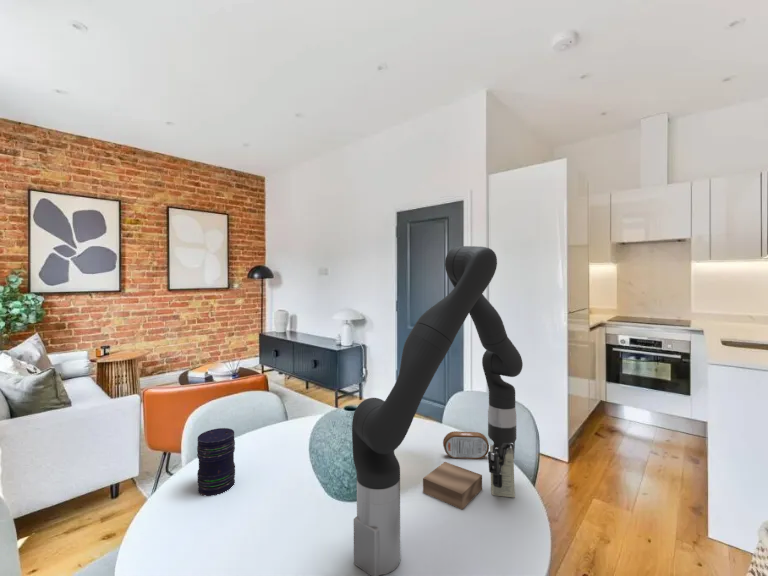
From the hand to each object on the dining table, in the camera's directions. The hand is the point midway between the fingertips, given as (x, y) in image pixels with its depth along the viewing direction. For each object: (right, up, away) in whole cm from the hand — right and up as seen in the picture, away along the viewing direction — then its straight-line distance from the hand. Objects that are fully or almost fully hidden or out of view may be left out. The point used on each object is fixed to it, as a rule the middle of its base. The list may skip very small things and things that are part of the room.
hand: (502, 481), depth 100 cm
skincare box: (0, -3, 0) cm, 3 cm away
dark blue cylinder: (-81, -4, +4) cm, 81 cm away
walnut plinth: (-14, -3, +1) cm, 14 cm away
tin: (-5, -3, +20) cm, 21 cm away
